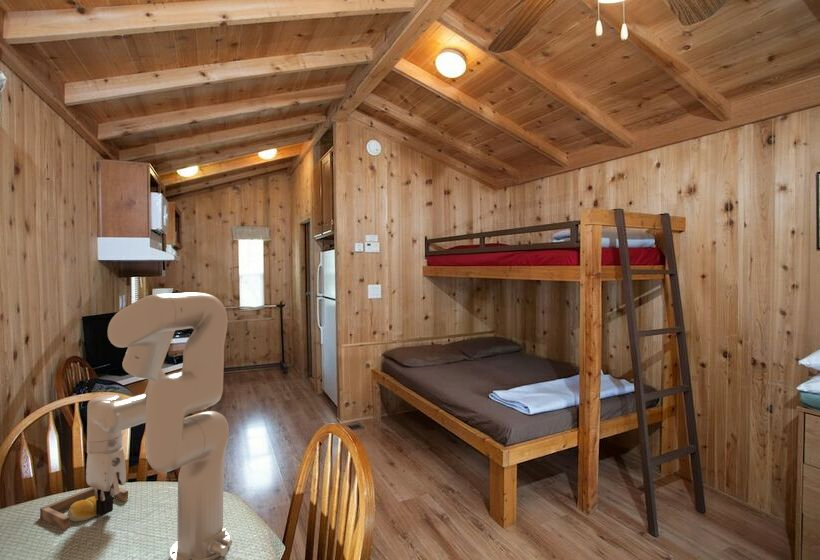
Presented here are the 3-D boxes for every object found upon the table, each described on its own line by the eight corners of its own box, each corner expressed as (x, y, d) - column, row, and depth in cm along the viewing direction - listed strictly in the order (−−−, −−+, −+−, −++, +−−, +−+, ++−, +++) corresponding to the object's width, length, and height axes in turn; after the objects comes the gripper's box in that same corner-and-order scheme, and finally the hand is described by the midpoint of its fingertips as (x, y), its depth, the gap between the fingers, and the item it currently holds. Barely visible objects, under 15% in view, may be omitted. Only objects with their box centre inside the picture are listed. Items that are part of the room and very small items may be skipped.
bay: (128, 499, 117) (128, 490, 117) (63, 529, 103) (63, 519, 103) (104, 490, 122) (104, 482, 122) (40, 517, 108) (40, 508, 108)
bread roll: (115, 510, 112) (115, 495, 112) (74, 526, 105) (75, 510, 105) (102, 500, 117) (102, 486, 117) (62, 515, 109) (63, 500, 109)
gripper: (137, 443, 109) (136, 512, 109) (103, 434, 115) (103, 499, 115) (106, 454, 102) (105, 528, 102) (72, 443, 109) (72, 513, 109)
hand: (104, 512), depth 109 cm, fingers closed
